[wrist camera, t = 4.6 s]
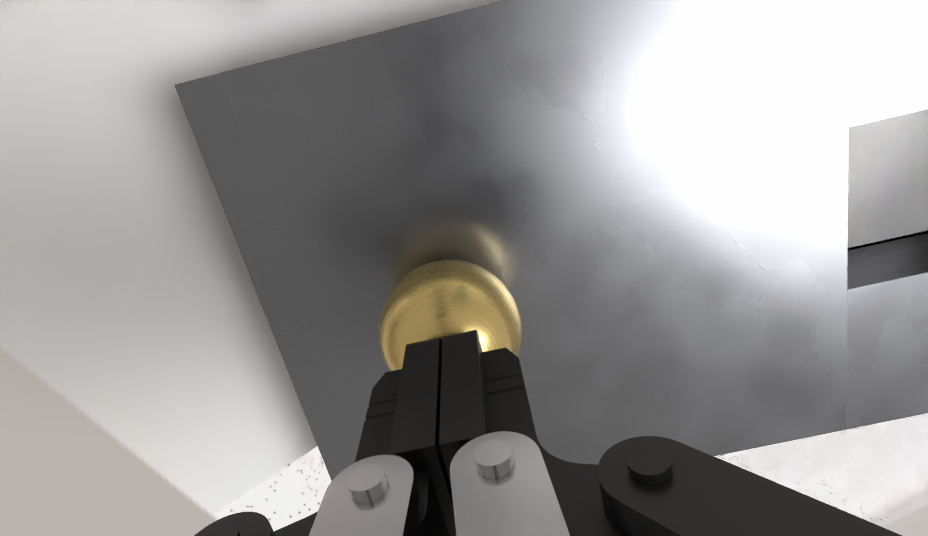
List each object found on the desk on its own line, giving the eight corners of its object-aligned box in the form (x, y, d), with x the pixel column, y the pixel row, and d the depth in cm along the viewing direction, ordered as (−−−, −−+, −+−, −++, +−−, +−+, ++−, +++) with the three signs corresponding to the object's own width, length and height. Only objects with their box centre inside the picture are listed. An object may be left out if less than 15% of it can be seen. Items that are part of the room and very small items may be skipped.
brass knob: (370, 257, 15) (347, 313, 12) (499, 228, 15) (513, 276, 11) (405, 369, 16) (393, 449, 13) (524, 343, 16) (544, 417, 13)
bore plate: (216, 81, 16) (174, 85, 13) (1114, -148, 14) (1246, -190, 12) (362, 475, 20) (351, 529, 18) (1044, 333, 19) (1128, 372, 17)
